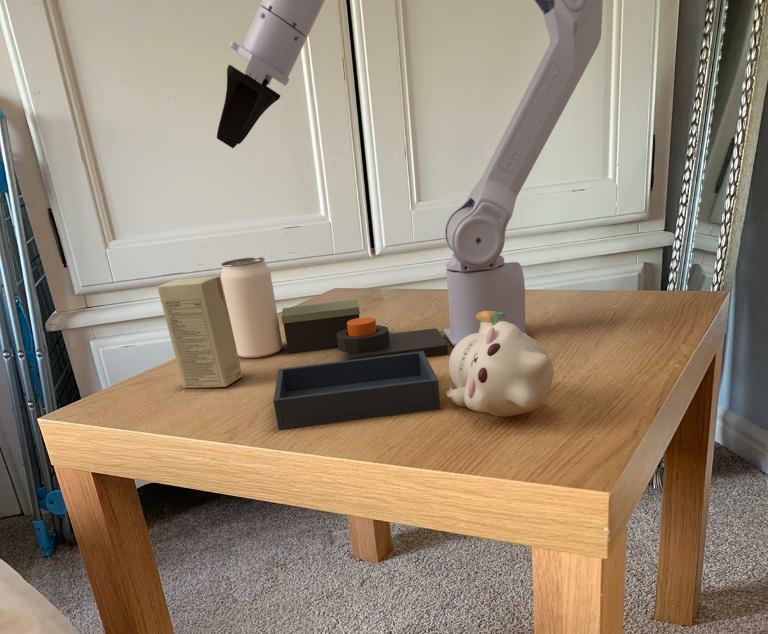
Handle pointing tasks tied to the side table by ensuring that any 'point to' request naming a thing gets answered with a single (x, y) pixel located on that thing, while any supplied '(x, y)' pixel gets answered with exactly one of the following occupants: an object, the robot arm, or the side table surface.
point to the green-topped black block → (317, 324)
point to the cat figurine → (499, 369)
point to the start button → (361, 326)
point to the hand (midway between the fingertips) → (228, 141)
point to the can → (251, 307)
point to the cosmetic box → (200, 331)
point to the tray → (355, 390)
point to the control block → (392, 343)
